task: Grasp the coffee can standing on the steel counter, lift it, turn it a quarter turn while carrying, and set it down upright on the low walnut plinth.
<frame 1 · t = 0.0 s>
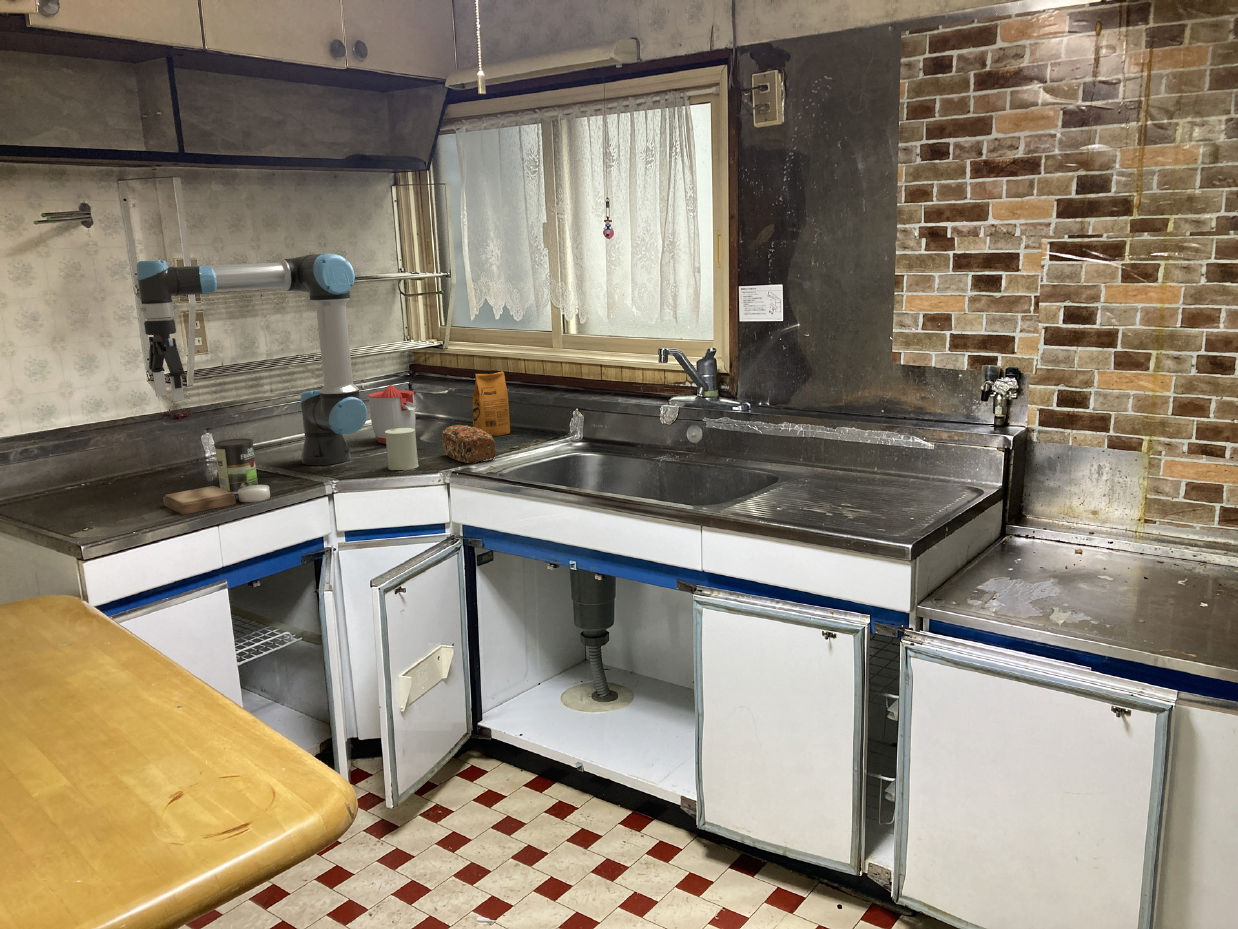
hand: (170, 398, 263), 28 cm above the counter, fingers open, 13 cm apart
dish: (254, 499, 266), on the counter
bread: (469, 458, 308), on the counter
coffee can: (239, 490, 276), on the counter
plinth: (200, 504, 261), on the counter
pale green cylinder: (403, 468, 298), on the counter
citrus juicer: (397, 442, 338), on the counter
coffee package: (492, 434, 346), on the counter
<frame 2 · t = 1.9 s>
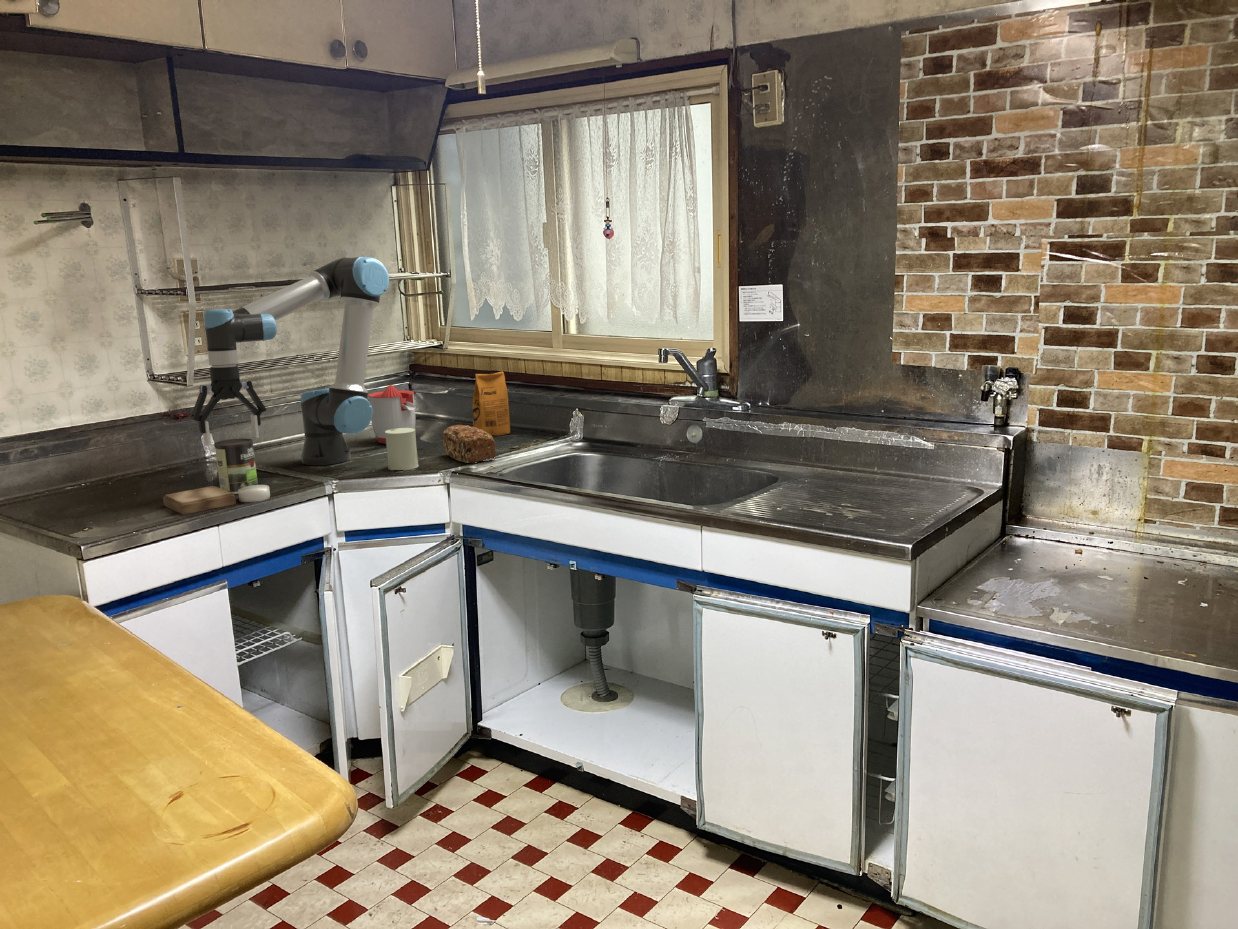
hand: (232, 441, 273), 14 cm above the counter, fingers open, 13 cm apart
nothing on the counter moved.
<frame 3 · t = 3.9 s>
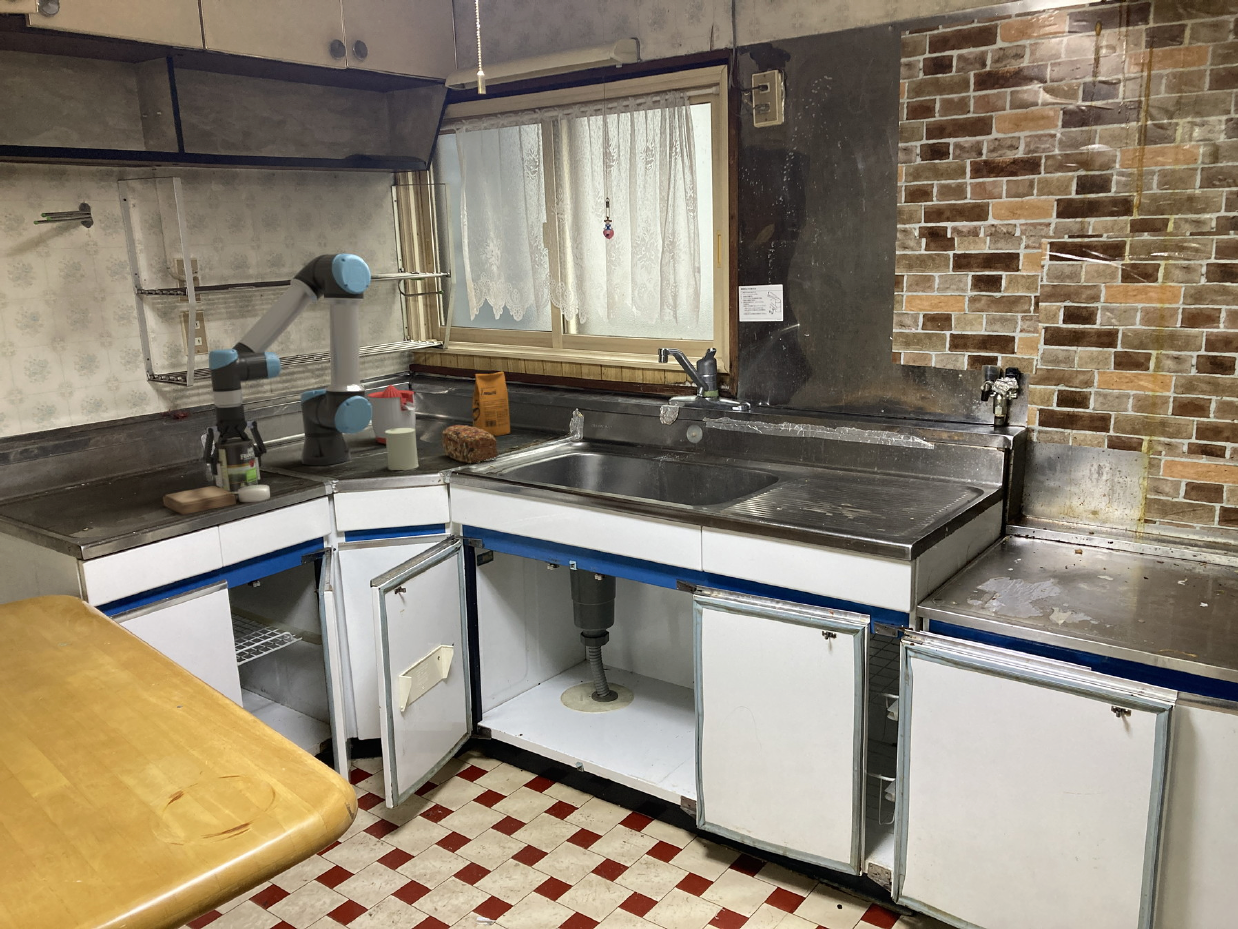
hand: (238, 482, 276), 2 cm above the counter, fingers closed on coffee can, 10 cm apart
coffee can: (239, 490, 276), on the counter, touching gripper
everything else where it was.
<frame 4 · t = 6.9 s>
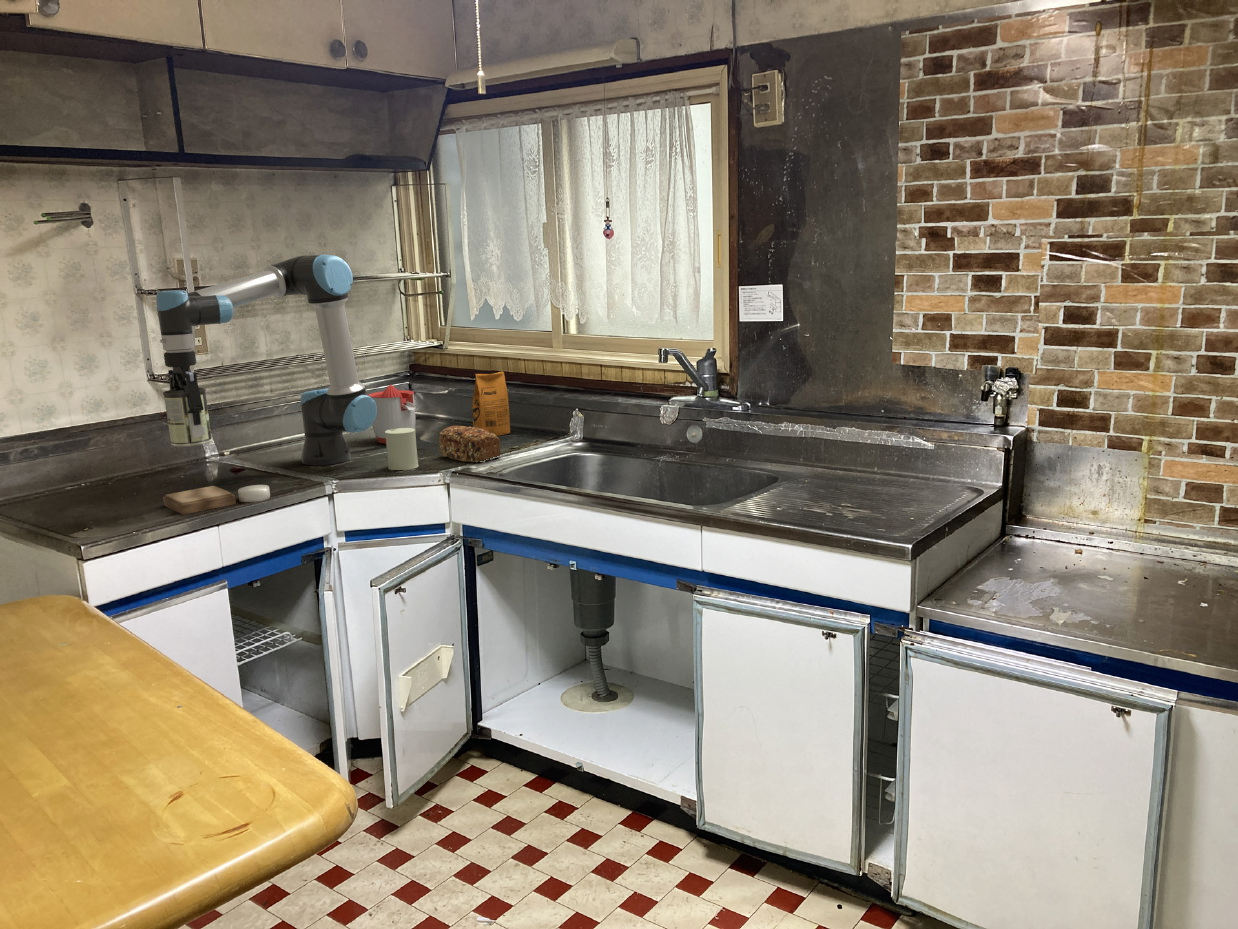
hand: (190, 434, 257), 19 cm above the counter, fingers closed on coffee can, 10 cm apart
coffee can: (191, 443, 258), point 17 cm above the counter, touching gripper
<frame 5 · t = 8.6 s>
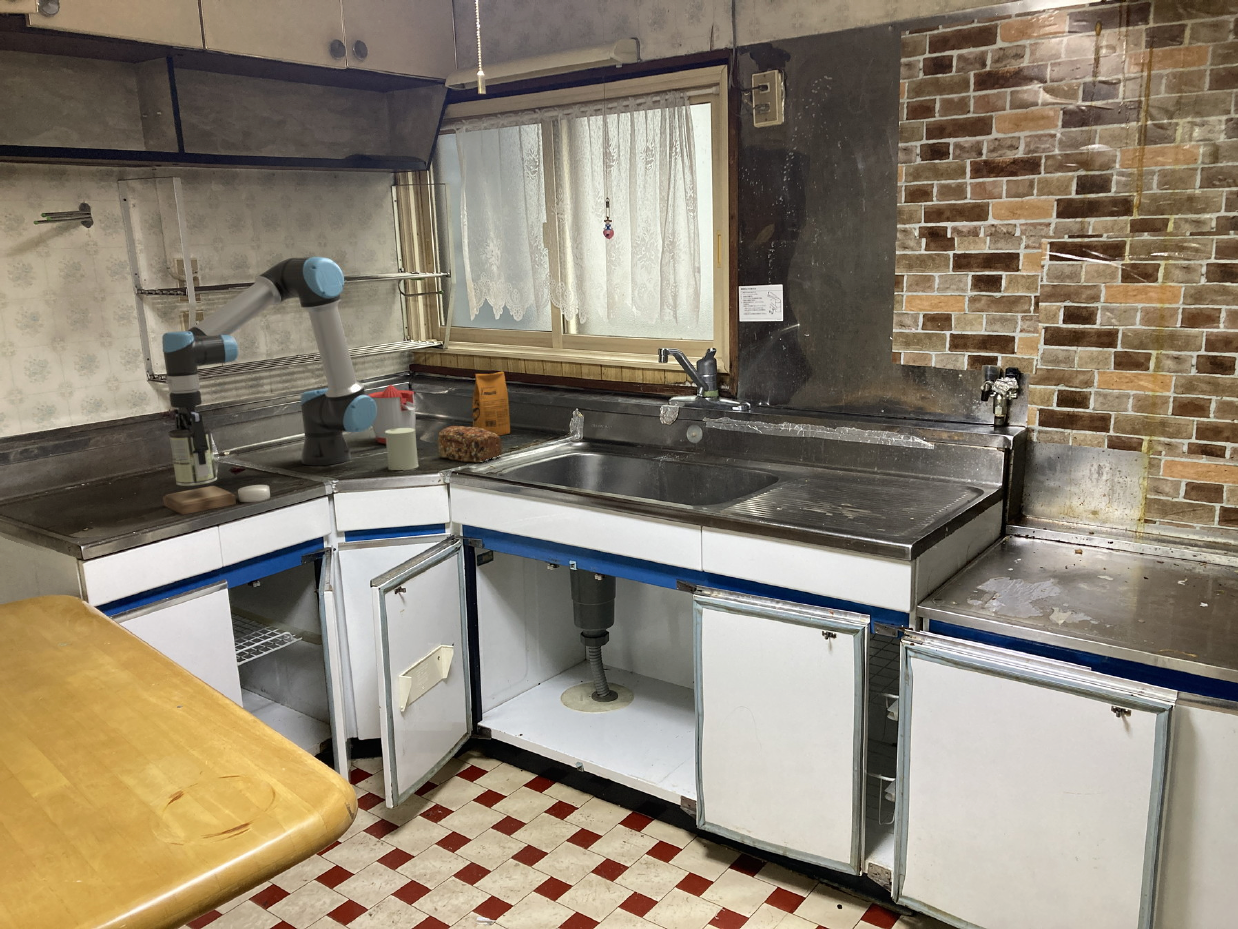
hand: (195, 473, 259), 9 cm above the counter, fingers closed on coffee can, 10 cm apart
coffee can: (196, 482, 260), point 6 cm above the counter, touching gripper
when the fingers open (7 cm above the counter, at t = 10.0 s): coffee can drops 1 cm, resting on plinth.
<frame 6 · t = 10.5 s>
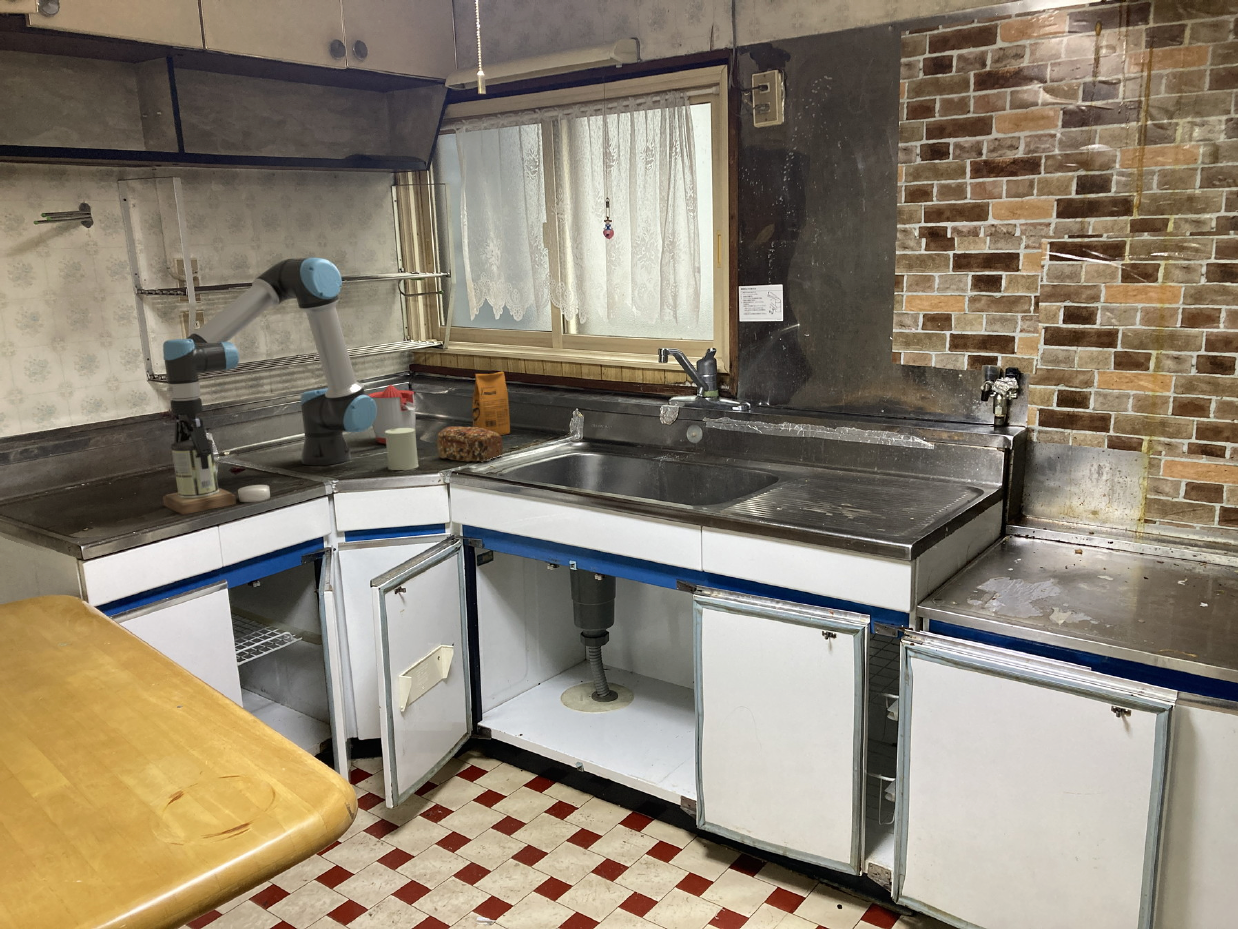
hand: (196, 476, 260), 8 cm above the counter, fingers open, 13 cm apart
coffee can: (198, 494, 261), point 3 cm above the counter, touching plinth
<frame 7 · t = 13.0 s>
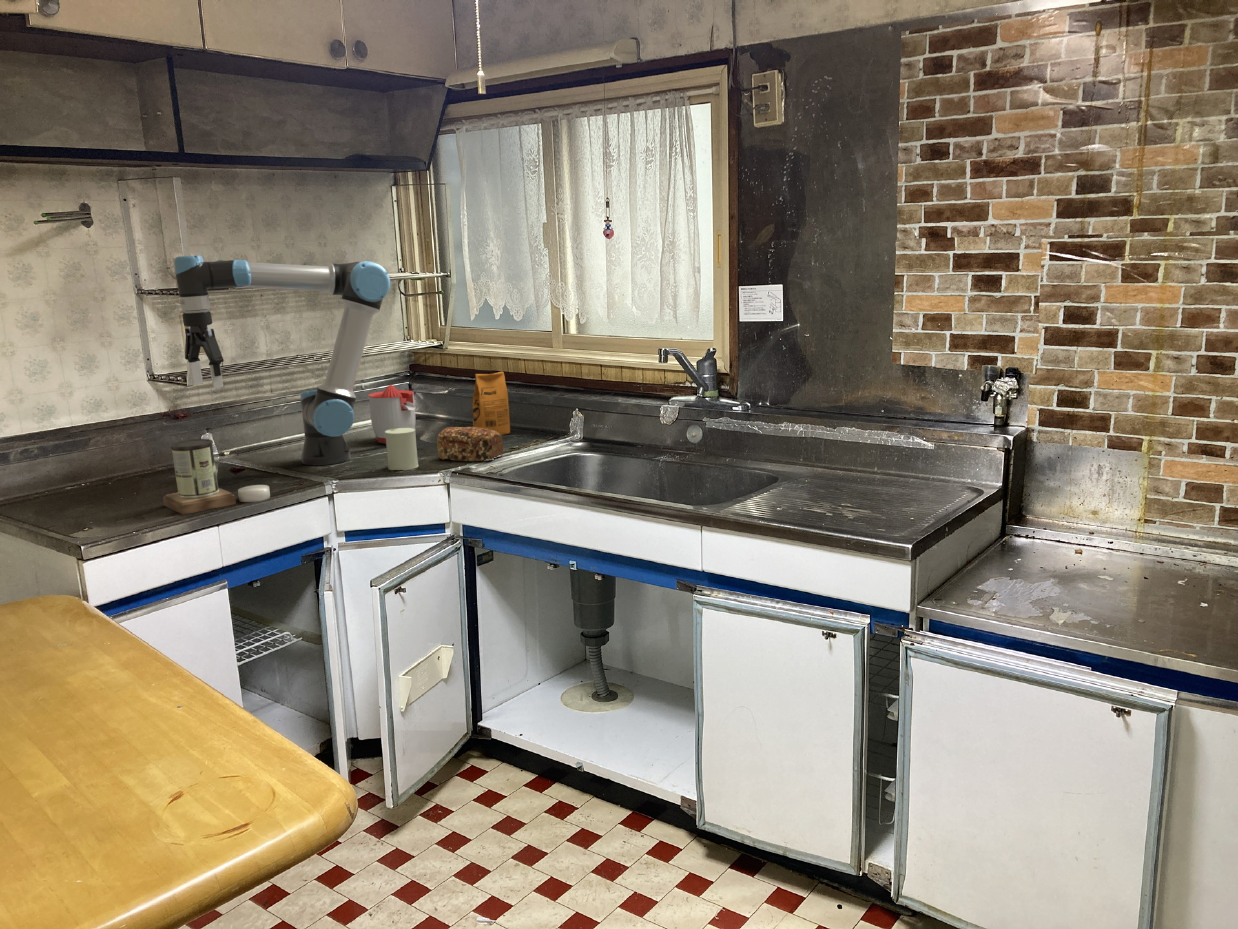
hand: (208, 386, 278), 29 cm above the counter, fingers open, 13 cm apart
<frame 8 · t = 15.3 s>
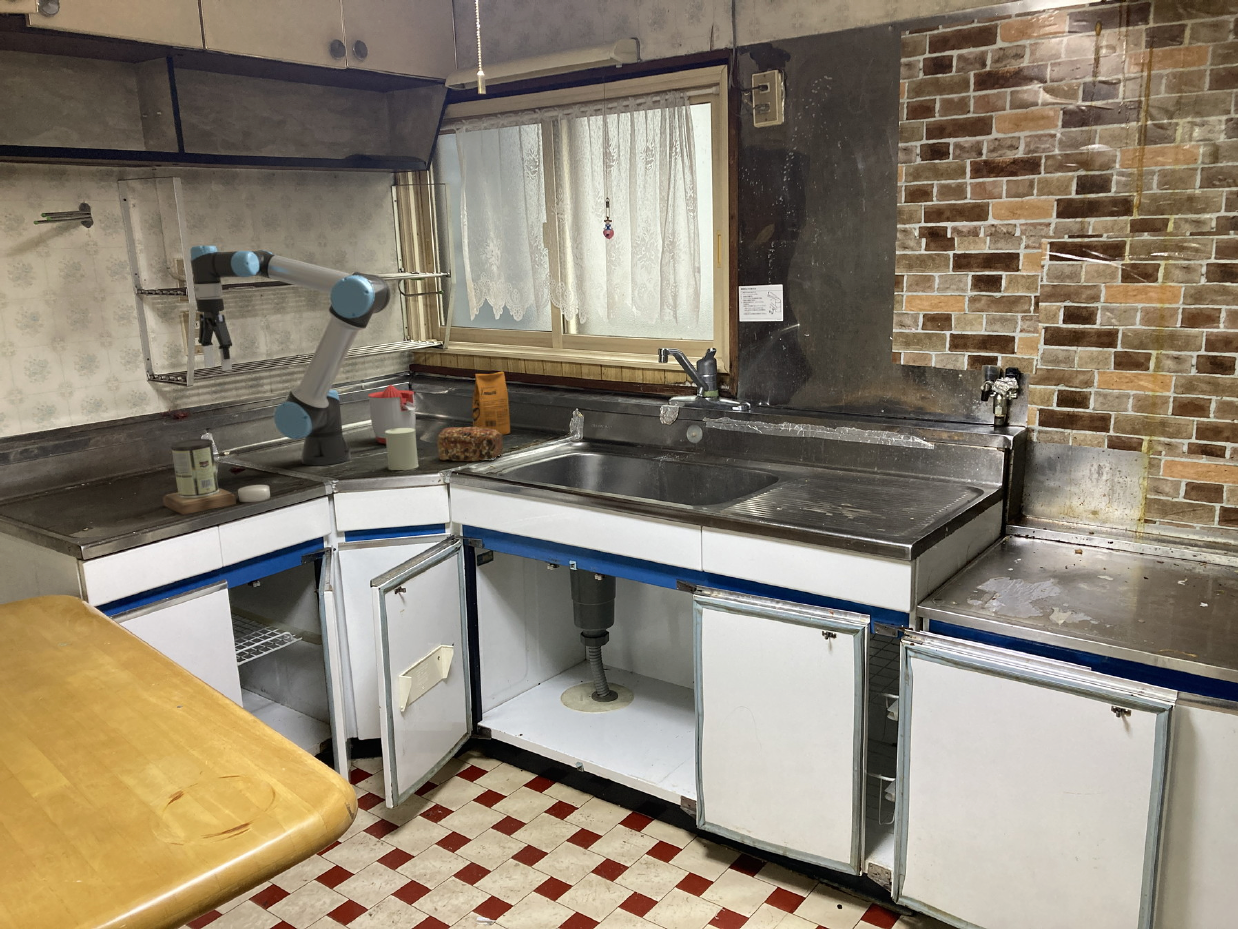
hand: (218, 368, 296), 32 cm above the counter, fingers open, 13 cm apart
at the end: coffee can 0.0 cm from the plinth (horizontally); coffee can touching plinth; coffee can tilted 0° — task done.
